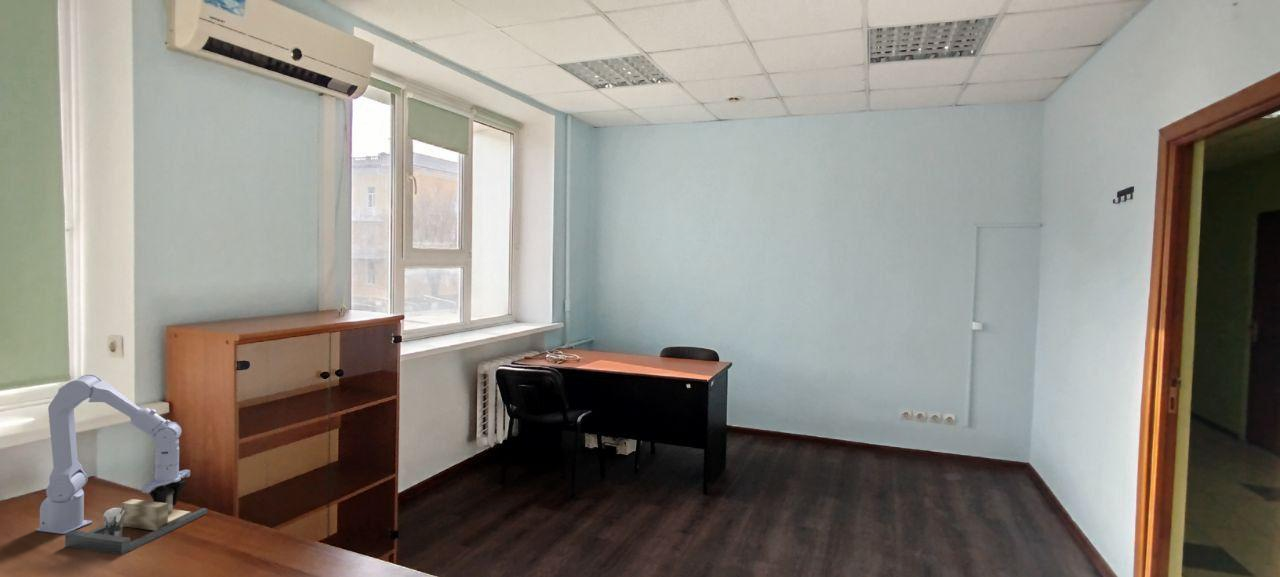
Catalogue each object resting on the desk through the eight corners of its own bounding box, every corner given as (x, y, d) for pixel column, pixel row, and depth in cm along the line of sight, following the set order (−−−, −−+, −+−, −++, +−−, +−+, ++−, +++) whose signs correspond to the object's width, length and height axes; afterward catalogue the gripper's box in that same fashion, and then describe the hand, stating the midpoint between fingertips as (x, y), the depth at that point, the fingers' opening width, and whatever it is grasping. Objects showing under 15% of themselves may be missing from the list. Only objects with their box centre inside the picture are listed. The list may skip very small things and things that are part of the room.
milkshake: (114, 546, 169) (114, 510, 168) (98, 543, 170) (99, 508, 169) (131, 538, 173) (131, 504, 173) (115, 536, 174) (116, 501, 174)
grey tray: (65, 547, 167) (65, 534, 166) (157, 506, 194) (157, 495, 194) (121, 554, 164) (121, 541, 164) (207, 513, 192) (207, 502, 191)
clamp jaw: (122, 526, 180) (122, 498, 179) (156, 511, 190) (157, 485, 190) (158, 530, 178) (158, 503, 178) (190, 515, 189) (191, 489, 188)
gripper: (157, 473, 179) (156, 518, 179) (199, 457, 193) (198, 499, 194) (135, 470, 179) (135, 515, 180) (179, 455, 194) (178, 497, 195)
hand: (166, 507), depth 187 cm, fingers closed on clamp jaw, 3 cm apart
